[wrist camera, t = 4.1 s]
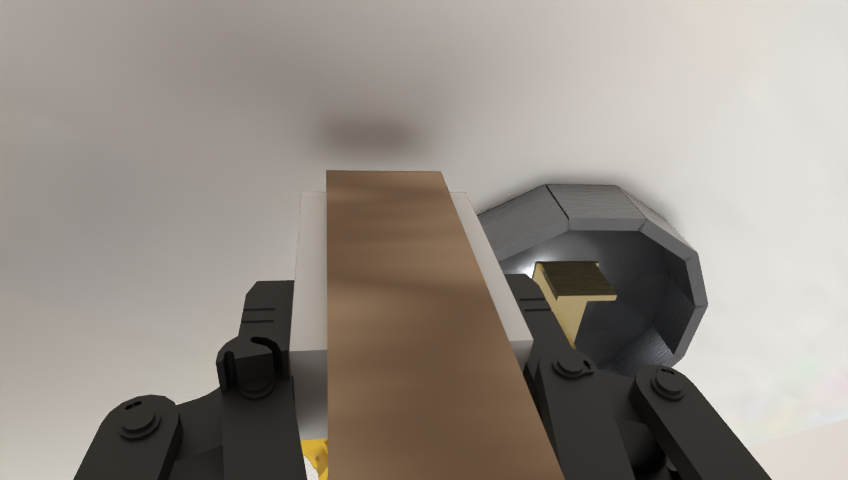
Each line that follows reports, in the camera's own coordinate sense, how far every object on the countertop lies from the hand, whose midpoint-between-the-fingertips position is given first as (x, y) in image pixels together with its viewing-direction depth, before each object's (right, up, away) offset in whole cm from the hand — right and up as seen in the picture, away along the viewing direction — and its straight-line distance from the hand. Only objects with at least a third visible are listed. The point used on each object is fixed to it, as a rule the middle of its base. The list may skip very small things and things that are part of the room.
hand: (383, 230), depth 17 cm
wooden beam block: (0, 0, +1) cm, 1 cm away
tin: (+8, -3, +11) cm, 14 cm away
